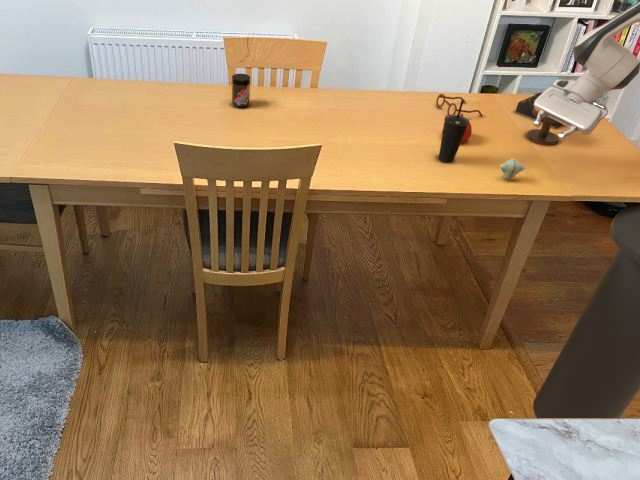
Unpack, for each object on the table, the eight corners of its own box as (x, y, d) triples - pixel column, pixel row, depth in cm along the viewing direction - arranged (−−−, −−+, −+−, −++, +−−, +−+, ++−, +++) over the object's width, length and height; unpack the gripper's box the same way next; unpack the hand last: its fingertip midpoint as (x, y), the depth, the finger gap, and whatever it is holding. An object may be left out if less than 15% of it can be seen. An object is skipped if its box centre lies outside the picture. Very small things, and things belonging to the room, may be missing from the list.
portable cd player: (556, 128, 212) (560, 118, 209) (515, 112, 222) (518, 102, 219) (579, 117, 220) (583, 107, 217) (538, 102, 230) (541, 92, 227)
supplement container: (230, 107, 215) (230, 79, 208) (233, 100, 220) (233, 72, 213) (248, 109, 215) (249, 81, 208) (250, 102, 220) (251, 74, 213)
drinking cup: (460, 165, 188) (478, 106, 175) (437, 164, 188) (453, 105, 175) (454, 154, 194) (471, 95, 181) (431, 153, 194) (446, 94, 181)
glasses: (434, 104, 224) (437, 92, 221) (464, 102, 227) (468, 89, 224) (451, 119, 215) (455, 106, 211) (482, 116, 217) (486, 103, 214)
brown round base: (567, 142, 204) (578, 115, 197) (543, 149, 199) (554, 121, 193) (539, 128, 212) (550, 101, 205) (516, 134, 207) (526, 107, 200)
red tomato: (457, 130, 208) (465, 105, 202) (474, 143, 201) (482, 117, 195) (434, 134, 205) (440, 108, 199) (450, 147, 198) (457, 121, 192)
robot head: (496, 181, 181) (503, 162, 177) (492, 175, 185) (499, 155, 180) (522, 183, 181) (529, 163, 177) (518, 176, 185) (525, 157, 180)
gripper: (613, 115, 171) (577, 152, 174) (556, 89, 185) (524, 124, 187) (610, 103, 167) (573, 141, 169) (552, 77, 180) (519, 113, 183)
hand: (547, 132), depth 178 cm, fingers open, 8 cm apart
